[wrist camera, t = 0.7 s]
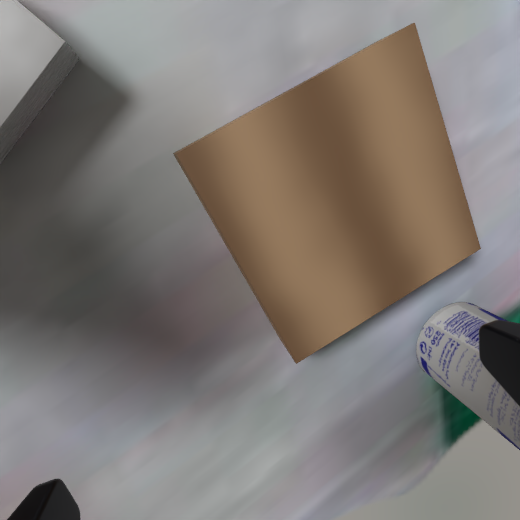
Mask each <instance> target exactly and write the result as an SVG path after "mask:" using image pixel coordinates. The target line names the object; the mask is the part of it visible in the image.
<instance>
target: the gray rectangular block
mask: <svg viewBox="0 0 520 520" xmlns="http://www.w3.org/2000/svg"><path fill="white" fill-rule="evenodd" d="M78 61H79V57H78V56H77V55H76V54H75V53H74V51H73V50H72V49H71V48H70V47H69V45H68V44H67V43H66V42H65V41H64V40H63V39H62V38H61V37H60V36H58V35H57V34H56V33H55V32H54V31H52V30H51V29H50V28H49V27H48V26H47V25H45V24H44V23H43V22H42V21H41V20H40V19H38V18H37V17H36V16H35V15H34V14H32V13H31V12H30V11H29V10H28V9H27V8H25V7H24V6H23V5H22V4H21V3H20V2H18V1H17V0H0V164H1V162H2V161H3V160H4V158H5V157H6V156H7V154H8V153H9V152H10V150H11V149H12V148H13V147H14V145H15V144H16V143H17V141H18V140H19V139H20V137H21V136H22V135H23V133H24V132H25V131H26V129H27V128H28V127H29V125H30V124H31V123H32V121H33V120H34V119H35V117H36V116H37V115H38V113H39V112H40V111H41V109H42V108H43V107H44V105H45V104H46V103H47V102H48V100H49V99H50V98H51V96H52V95H53V94H54V92H55V91H56V90H57V88H58V87H59V86H60V84H61V83H62V82H63V80H64V79H65V78H66V76H67V75H68V74H69V72H70V71H71V70H72V68H73V67H74V66H75V64H76V63H77V62H78Z"/></svg>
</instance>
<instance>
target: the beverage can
mask: <svg viewBox="0 0 520 520" xmlns="http://www.w3.org/2000/svg"><path fill="white" fill-rule="evenodd" d="M494 320H504V319H502V318H500V317H498V316H496V315H494V314H492V313H490V312H488V311H486V310H484V309H482V308H480V307H478V306H476V305H473V304H471V303H467V302H458V303H453V304H450V305H447V306H445V307H443V308H442V309H440V310H439V311H437V312H436V313H435V314H434V315H432V316H431V317H430V318H429V320H428V321H427V322H426V323H425V325H424V326H423V328H422V330H421V332H420V335H419V337H418V341H417V348H416V354H417V360H418V363H419V365H420V367H421V368H422V370H423V371H424V372H425V373H427V374H428V375H429V376H431V377H432V378H433V379H434V380H435V381H437V382H438V383H439V384H440V385H442V386H443V387H444V388H445V389H446V390H448V391H449V392H450V393H451V394H452V395H454V396H455V397H456V398H457V399H459V400H460V401H461V402H462V403H463V404H465V405H466V406H467V407H468V408H469V409H471V410H472V411H473V412H474V413H475V414H477V415H478V416H479V417H480V418H482V419H483V420H484V421H485V422H486V423H488V424H489V425H490V426H491V427H492V428H494V429H495V430H496V431H497V432H499V433H500V434H501V435H502V436H503V437H505V438H506V439H507V440H508V441H509V442H511V443H512V444H513V445H514V446H515V447H517V448H518V449H519V450H520V407H519V405H518V404H517V403H516V402H515V401H514V400H513V399H512V398H511V396H510V395H509V394H508V393H507V392H506V391H505V390H504V389H503V387H502V386H501V385H500V384H499V383H498V382H497V381H496V380H495V378H494V377H493V376H492V375H491V374H490V373H489V372H488V371H487V369H486V368H485V367H484V366H483V364H482V362H481V360H480V356H479V329H480V327H481V326H482V325H483V324H486V323H489V322H492V321H494ZM504 321H506V320H504Z"/></svg>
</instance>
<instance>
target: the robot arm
mask: <svg viewBox="0 0 520 520" xmlns="http://www.w3.org/2000/svg"><path fill="white" fill-rule="evenodd" d="M479 356H480V360H481V362H482V364H483V366H484V367H485V368H486V369H487V371H488V372H489V373H490V374H491V375H492V376H493V377H494V378H495V380H496V381H497V382H498V383H499V384H500V385H501V386H502V387H503V389H504V390H505V391H506V392H507V393H508V394H509V395H510V396H511V398H512V399H513V400H514V401H515V402H516V403H517V404H518V405H519V407H520V324H519V323H514V322H509V321H504V320H494V321H492V322H489V323H486V324H483V325H482V326H481V327H480V329H479ZM7 520H80V511H79V508H78V505H77V503H76V502H75V500H74V498H73V497H72V495H71V494H70V492H69V490H68V489H67V487H66V485H65V484H64V482H63V481H62V480H60V479H53V480H50V481H48V482H45V483H42V484H39V485H38V486H36V487H34V488H33V490H32V491H31V492H30V493H29V494H28V495H27V497H26V498H25V499H24V500H23V501H22V502H21V504H20V505H19V506H18V507H17V508H16V510H15V511H14V512H13V513H12V514H11V516H10V517H9V518H8V519H7Z"/></svg>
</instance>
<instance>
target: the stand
mask: <svg viewBox="0 0 520 520" xmlns="http://www.w3.org/2000/svg"><path fill="white" fill-rule="evenodd" d="M173 154H174V156H175V157H176V159H177V161H178V163H179V164H180V166H181V168H182V170H183V171H184V173H185V175H186V177H187V178H188V180H189V182H190V184H191V185H192V187H193V189H194V190H195V192H196V194H197V196H198V197H199V199H200V201H201V203H202V204H203V206H204V208H205V210H206V211H207V213H208V215H209V216H210V218H211V220H212V222H213V223H214V225H215V227H216V229H217V230H218V232H219V234H220V236H221V237H222V239H223V241H224V243H225V244H226V246H227V248H228V249H229V251H230V253H231V255H232V256H233V258H234V260H235V262H236V263H237V265H238V267H239V269H240V270H241V272H242V274H243V276H244V277H245V279H246V281H247V282H248V284H249V286H250V288H251V289H252V291H253V293H254V295H255V296H256V298H257V300H258V302H259V303H260V305H261V307H262V309H263V310H264V312H265V314H266V315H267V317H268V319H269V321H270V322H271V324H272V326H273V328H274V329H275V331H276V333H277V335H278V336H279V338H280V340H281V341H282V343H283V344H284V346H285V347H286V349H287V350H288V352H289V353H290V355H291V356H292V358H293V360H294V361H295V363H296V364H297V363H298V362H300V361H301V360H303V359H305V358H306V357H308V356H309V355H311V354H313V353H314V352H316V351H317V350H319V349H321V348H322V347H324V346H326V345H327V344H329V343H330V342H332V341H334V340H335V339H337V338H338V337H340V336H342V335H343V334H345V333H346V332H348V331H350V330H351V329H353V328H354V327H356V326H358V325H359V324H361V323H362V322H364V321H366V320H367V319H369V318H370V317H372V316H374V315H375V314H377V313H378V312H380V311H382V310H383V309H385V308H386V307H388V306H390V305H391V304H393V303H395V302H396V301H398V300H399V299H401V298H403V297H404V296H406V295H407V294H409V293H411V292H412V291H414V290H415V289H417V288H419V287H420V286H422V285H423V284H425V283H427V282H428V281H430V280H431V279H433V278H435V277H436V276H438V275H439V274H441V273H443V272H444V271H446V270H447V269H449V268H451V267H452V266H454V265H455V264H457V263H459V262H460V261H462V260H464V259H465V258H467V257H468V256H470V255H472V254H473V253H475V252H476V251H478V250H480V249H481V248H480V245H479V241H478V238H477V234H476V231H475V227H474V224H473V221H472V217H471V214H470V210H469V207H468V203H467V200H466V197H465V193H464V190H463V186H462V183H461V179H460V176H459V173H458V169H457V166H456V162H455V159H454V156H453V152H452V149H451V145H450V142H449V138H448V135H447V132H446V128H445V125H444V121H443V118H442V114H441V111H440V108H439V104H438V101H437V97H436V94H435V90H434V87H433V84H432V80H431V77H430V73H429V70H428V67H427V63H426V60H425V56H424V53H423V49H422V46H421V43H420V39H419V36H418V32H417V29H416V25H415V23H413V24H411V25H409V26H407V27H405V28H403V29H401V30H399V31H397V32H395V33H393V34H391V35H389V36H387V37H385V38H383V39H381V40H379V41H377V42H375V43H374V44H372V45H370V46H368V47H366V48H365V49H363V50H361V51H359V52H357V53H355V54H354V55H352V56H350V57H348V58H346V59H344V60H343V61H341V62H339V63H337V64H335V65H334V66H332V67H330V68H328V69H326V70H324V71H323V72H321V73H319V74H317V75H315V76H314V77H312V78H310V79H308V80H306V81H304V82H303V83H301V84H299V85H297V86H295V87H294V88H292V89H290V90H288V91H286V92H284V93H283V94H281V95H279V96H277V97H275V98H273V99H272V100H270V101H268V102H266V103H264V104H263V105H261V106H259V107H257V108H255V109H253V110H252V111H250V112H248V113H246V114H244V115H243V116H241V117H239V118H237V119H235V120H233V121H232V122H230V123H228V124H226V125H224V126H223V127H221V128H219V129H217V130H215V131H213V132H212V133H210V134H208V135H206V136H204V137H203V138H201V139H199V140H197V141H195V142H193V143H192V144H190V145H188V146H186V147H184V148H182V149H181V150H179V151H177V152H175V153H173Z"/></svg>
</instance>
